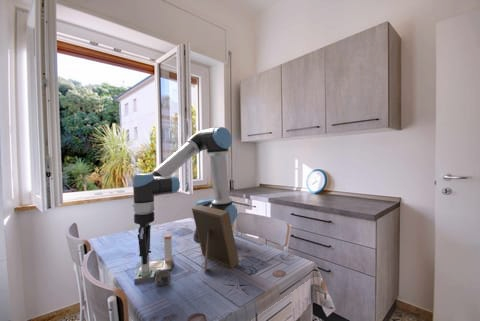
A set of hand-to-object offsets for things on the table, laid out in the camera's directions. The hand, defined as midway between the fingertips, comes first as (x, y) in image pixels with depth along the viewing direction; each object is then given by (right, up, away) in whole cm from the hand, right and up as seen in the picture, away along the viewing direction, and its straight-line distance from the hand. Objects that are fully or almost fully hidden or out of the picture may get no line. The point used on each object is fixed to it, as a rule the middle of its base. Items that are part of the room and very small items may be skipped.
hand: (145, 270), depth 90 cm
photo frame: (+25, -3, +12) cm, 28 cm away
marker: (+5, -2, +13) cm, 14 cm away
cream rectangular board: (+1, -3, +9) cm, 10 cm away
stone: (+7, -3, -3) cm, 8 cm away
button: (0, -4, 0) cm, 4 cm away
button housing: (0, -3, 0) cm, 3 cm away
